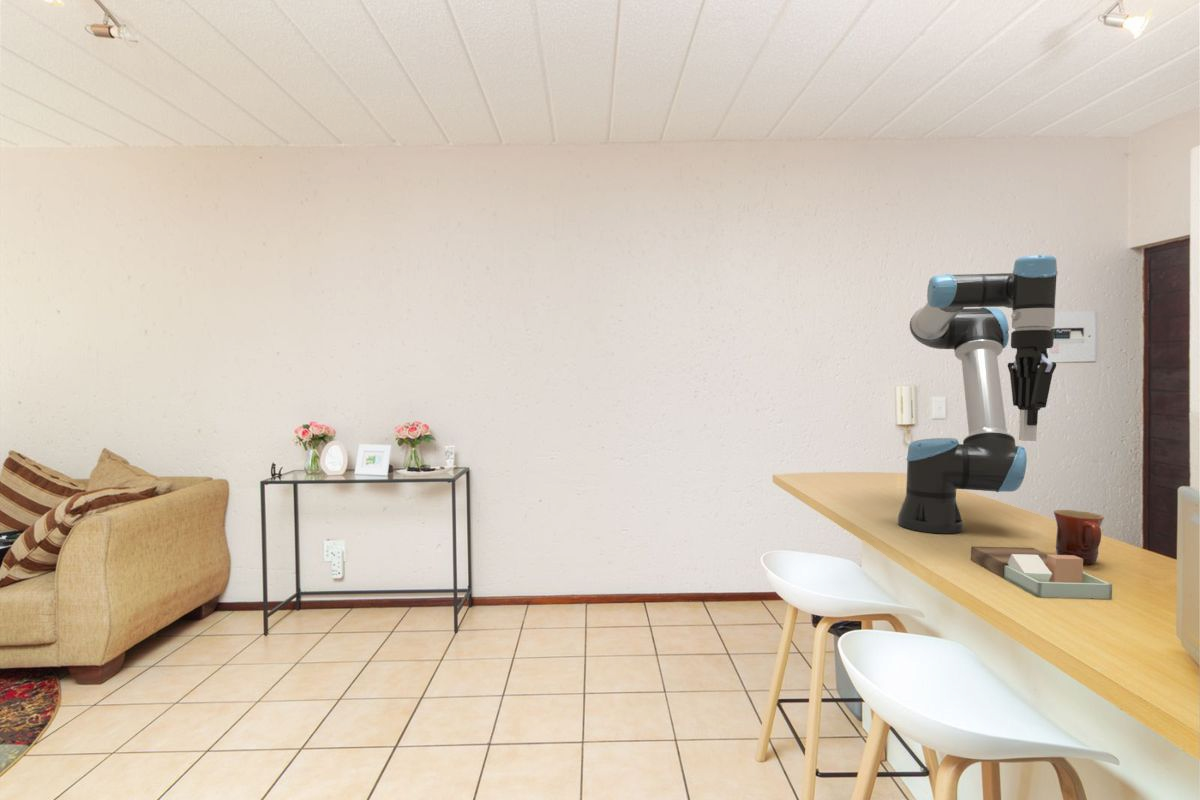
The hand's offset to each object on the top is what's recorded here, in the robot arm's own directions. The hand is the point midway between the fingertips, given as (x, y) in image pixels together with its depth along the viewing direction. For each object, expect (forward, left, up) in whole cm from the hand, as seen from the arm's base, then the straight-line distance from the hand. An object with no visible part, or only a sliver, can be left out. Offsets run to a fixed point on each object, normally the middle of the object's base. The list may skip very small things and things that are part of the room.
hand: (1027, 440), depth 137 cm
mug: (0, +12, -27) cm, 29 cm away
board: (+6, -4, -26) cm, 27 cm away
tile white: (+14, -8, -25) cm, 29 cm away
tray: (+17, -4, -26) cm, 32 cm away
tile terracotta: (+15, -2, -23) cm, 27 cm away
